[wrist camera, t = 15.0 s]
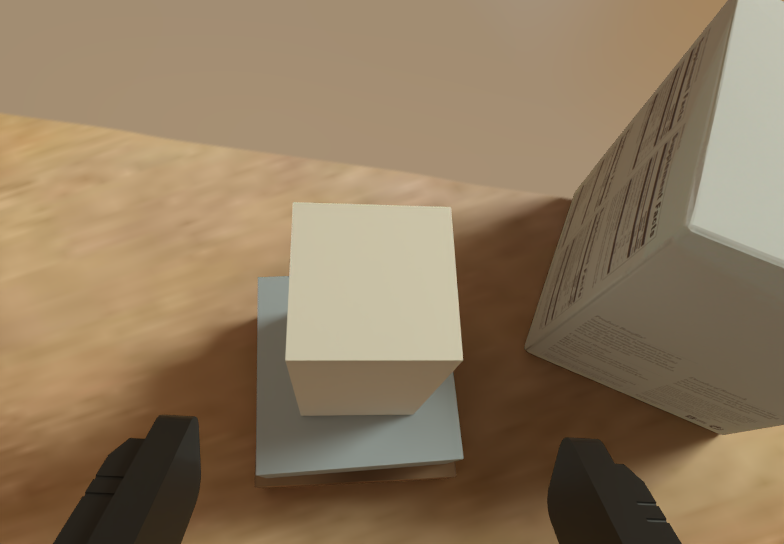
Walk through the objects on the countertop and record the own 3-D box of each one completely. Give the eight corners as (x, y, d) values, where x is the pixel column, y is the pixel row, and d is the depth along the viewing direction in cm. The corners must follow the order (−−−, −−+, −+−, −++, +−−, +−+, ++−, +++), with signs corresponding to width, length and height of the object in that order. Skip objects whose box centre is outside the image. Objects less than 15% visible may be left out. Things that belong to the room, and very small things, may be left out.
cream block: (408, 309, 27) (451, 207, 18) (413, 414, 25) (463, 360, 16) (304, 308, 26) (293, 202, 17) (300, 415, 24) (285, 360, 15)
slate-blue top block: (428, 297, 32) (440, 270, 28) (446, 463, 28) (463, 458, 25) (266, 304, 30) (257, 277, 27) (266, 478, 27) (256, 475, 23)
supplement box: (751, 259, 39) (1048, 90, 23) (723, 439, 34) (1077, 387, 18) (573, 187, 40) (737, -25, 24) (519, 353, 35) (681, 228, 18)
